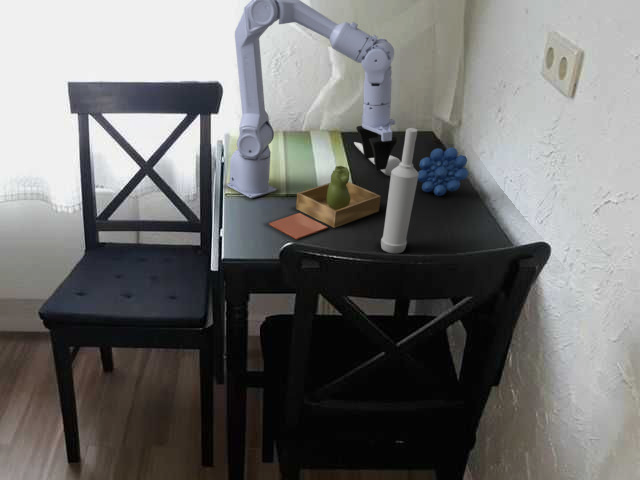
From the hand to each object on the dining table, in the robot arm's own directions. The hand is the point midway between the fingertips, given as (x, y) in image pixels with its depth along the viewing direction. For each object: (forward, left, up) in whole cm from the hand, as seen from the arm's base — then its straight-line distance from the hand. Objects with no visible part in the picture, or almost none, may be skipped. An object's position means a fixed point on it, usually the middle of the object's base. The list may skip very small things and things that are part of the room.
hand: (375, 163), depth 166 cm
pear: (-3, -7, -10) cm, 13 cm away
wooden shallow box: (-3, -7, -11) cm, 13 cm away
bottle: (+17, -11, -11) cm, 23 cm away
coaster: (-2, -20, -11) cm, 23 cm away
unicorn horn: (-19, +22, -11) cm, 31 cm away
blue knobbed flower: (+5, +19, -11) cm, 22 cm away
